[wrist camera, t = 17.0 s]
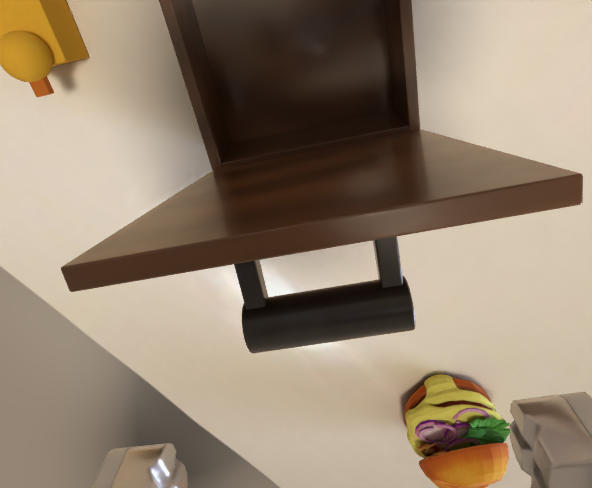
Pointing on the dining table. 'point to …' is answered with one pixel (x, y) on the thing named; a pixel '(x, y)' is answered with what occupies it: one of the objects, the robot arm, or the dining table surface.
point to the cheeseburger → (457, 433)
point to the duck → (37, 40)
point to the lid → (325, 227)
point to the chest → (294, 73)
